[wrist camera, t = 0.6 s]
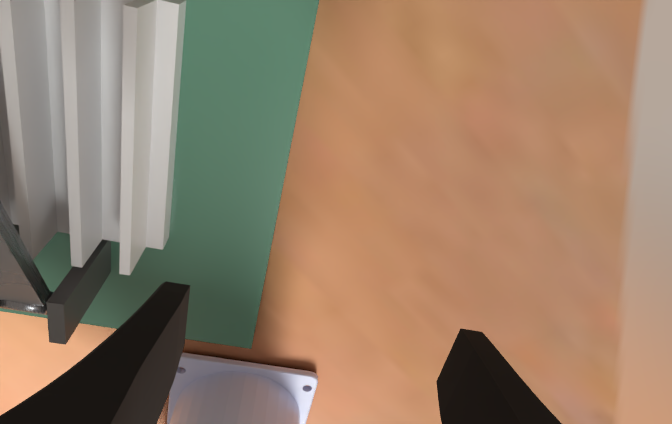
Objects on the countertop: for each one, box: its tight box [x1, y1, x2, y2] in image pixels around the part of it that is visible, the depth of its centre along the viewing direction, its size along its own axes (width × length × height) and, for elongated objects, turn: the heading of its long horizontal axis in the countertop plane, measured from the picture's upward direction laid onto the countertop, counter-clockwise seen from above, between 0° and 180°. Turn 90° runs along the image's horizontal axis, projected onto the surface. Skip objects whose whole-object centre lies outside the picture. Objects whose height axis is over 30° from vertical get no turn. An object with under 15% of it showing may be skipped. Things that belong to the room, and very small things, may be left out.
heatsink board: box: [0, 0, 319, 349], centre depth 18 cm, size 20×18×6 cm
